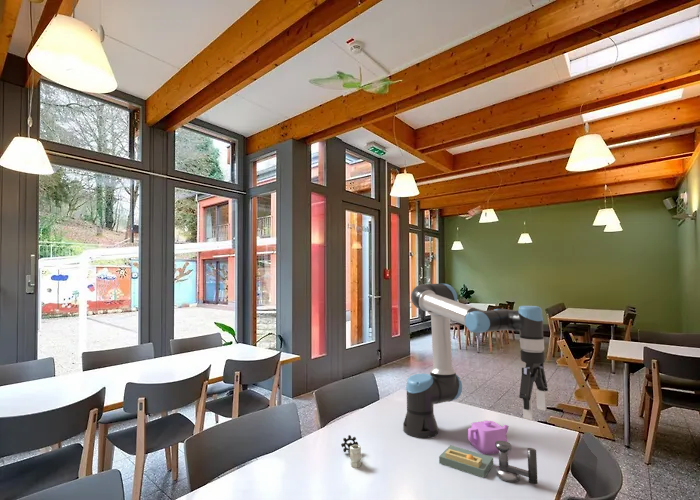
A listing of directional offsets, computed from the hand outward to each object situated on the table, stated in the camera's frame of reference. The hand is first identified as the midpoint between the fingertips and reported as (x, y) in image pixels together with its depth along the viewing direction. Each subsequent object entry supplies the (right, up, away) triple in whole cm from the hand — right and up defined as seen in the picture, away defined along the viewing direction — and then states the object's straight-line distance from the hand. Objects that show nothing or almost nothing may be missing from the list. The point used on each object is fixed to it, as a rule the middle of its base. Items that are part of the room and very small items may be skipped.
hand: (534, 414), depth 124 cm
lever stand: (-22, -21, +6) cm, 31 cm away
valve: (-63, -22, +9) cm, 67 cm away
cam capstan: (-8, -20, -4) cm, 22 cm away
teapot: (-9, -22, +18) cm, 30 cm away
